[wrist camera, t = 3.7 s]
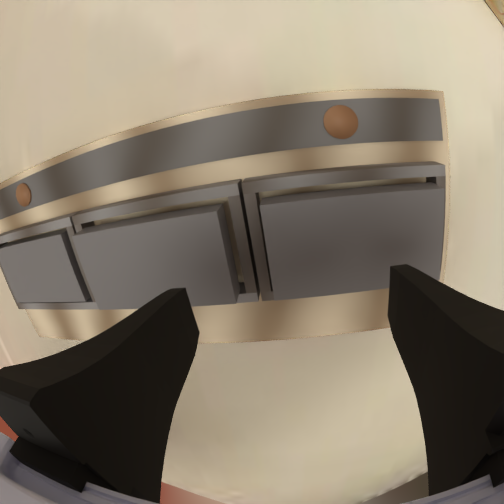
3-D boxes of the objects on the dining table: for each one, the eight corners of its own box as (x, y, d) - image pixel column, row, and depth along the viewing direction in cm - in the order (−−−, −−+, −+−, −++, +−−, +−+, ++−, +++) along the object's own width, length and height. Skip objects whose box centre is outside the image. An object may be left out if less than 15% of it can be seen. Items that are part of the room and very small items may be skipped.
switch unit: (45, 329, 25) (31, 344, 23) (-8, 188, 19) (-27, 197, 17) (431, 309, 19) (444, 330, 17) (434, 92, 14) (454, 89, 11)
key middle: (109, 297, 19) (99, 309, 17) (85, 227, 17) (71, 236, 15) (240, 289, 17) (236, 303, 16) (223, 203, 15) (216, 211, 14)
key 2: (27, 294, 22) (17, 302, 20) (6, 242, 20) (-5, 249, 18) (96, 290, 20) (85, 301, 19) (73, 226, 18) (60, 234, 17)
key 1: (275, 286, 17) (274, 300, 16) (262, 197, 15) (259, 205, 14) (428, 268, 15) (438, 280, 14) (431, 182, 14) (444, 188, 12)
